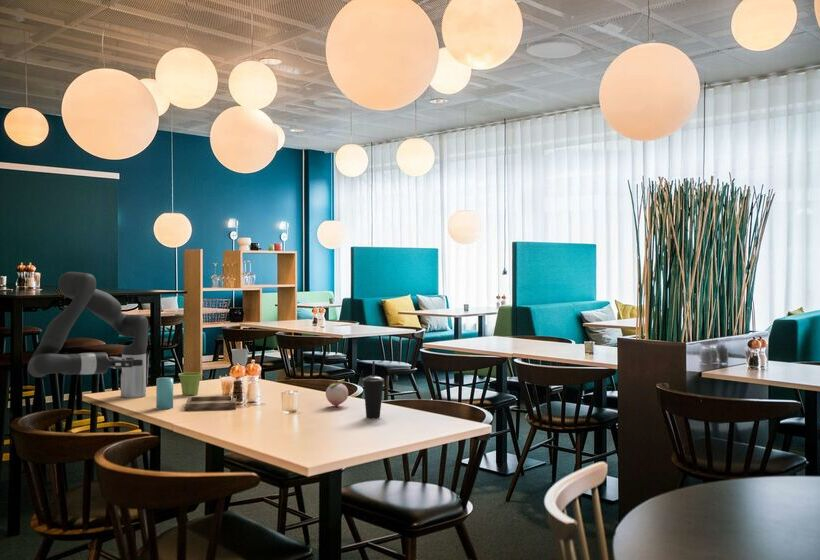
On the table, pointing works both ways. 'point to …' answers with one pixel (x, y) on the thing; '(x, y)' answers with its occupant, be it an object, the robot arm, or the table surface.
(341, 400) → the decorative fruit
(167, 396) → the teal tumbler
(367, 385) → the drinking cup
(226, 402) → the walnut tray
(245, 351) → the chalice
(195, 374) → the plant pot
